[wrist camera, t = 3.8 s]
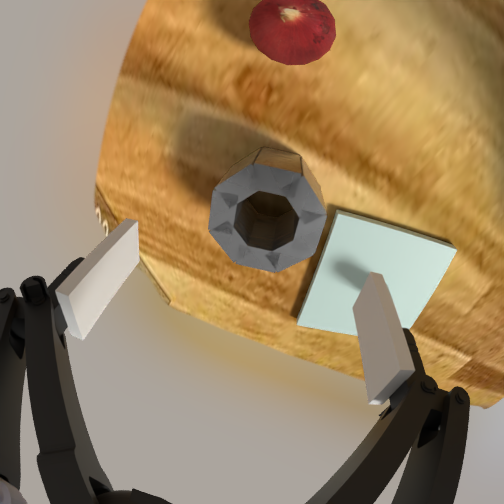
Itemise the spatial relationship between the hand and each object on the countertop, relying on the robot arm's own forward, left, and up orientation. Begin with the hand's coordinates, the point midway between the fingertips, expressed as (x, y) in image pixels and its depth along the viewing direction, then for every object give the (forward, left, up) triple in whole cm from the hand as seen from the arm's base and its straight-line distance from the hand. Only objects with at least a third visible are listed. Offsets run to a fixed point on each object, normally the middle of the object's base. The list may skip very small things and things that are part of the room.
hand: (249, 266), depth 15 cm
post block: (+7, +13, -12) cm, 19 cm away
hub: (0, 0, -12) cm, 12 cm away
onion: (-14, -1, -12) cm, 18 cm away
